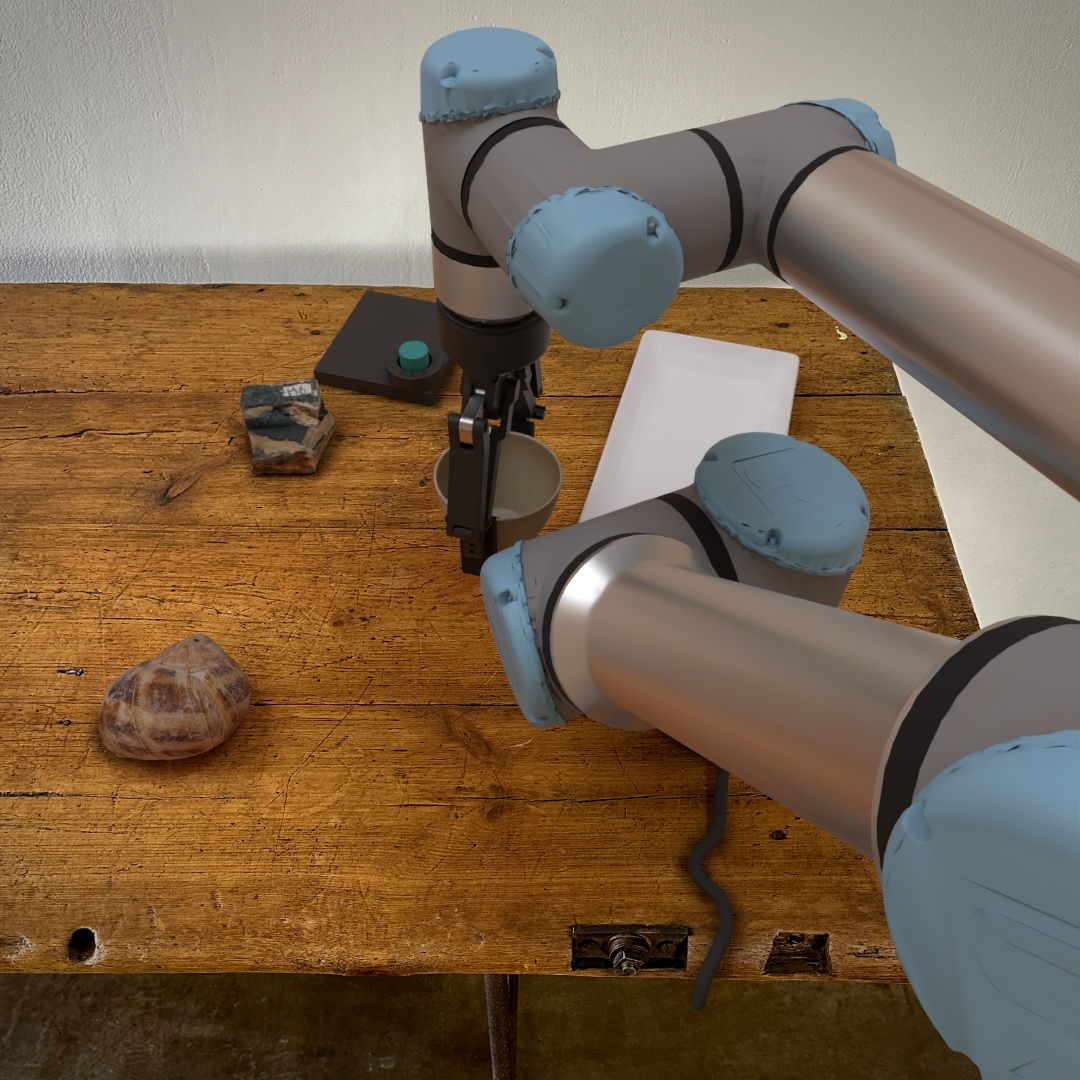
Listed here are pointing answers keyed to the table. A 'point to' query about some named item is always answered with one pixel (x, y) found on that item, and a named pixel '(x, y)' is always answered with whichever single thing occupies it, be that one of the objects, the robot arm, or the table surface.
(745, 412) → the tray
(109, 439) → the table surface
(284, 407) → the rock
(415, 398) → the black button board
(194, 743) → the seashell
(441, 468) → the beige bowl
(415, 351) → the button
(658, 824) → the table surface
